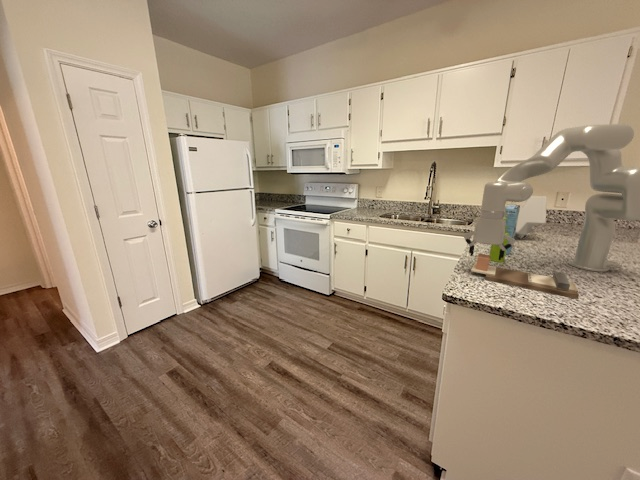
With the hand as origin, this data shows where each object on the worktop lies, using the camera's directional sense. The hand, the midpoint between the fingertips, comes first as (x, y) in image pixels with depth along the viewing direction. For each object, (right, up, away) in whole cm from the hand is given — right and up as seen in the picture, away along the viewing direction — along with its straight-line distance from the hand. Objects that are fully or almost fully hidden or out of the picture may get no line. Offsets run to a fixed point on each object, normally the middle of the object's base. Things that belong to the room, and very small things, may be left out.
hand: (485, 257), depth 105 cm
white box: (+55, +8, +58) cm, 81 cm away
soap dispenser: (+16, -3, +18) cm, 24 cm away
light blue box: (+31, +1, +32) cm, 45 cm away
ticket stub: (0, -5, +1) cm, 5 cm away
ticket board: (+11, -9, -7) cm, 16 cm away
